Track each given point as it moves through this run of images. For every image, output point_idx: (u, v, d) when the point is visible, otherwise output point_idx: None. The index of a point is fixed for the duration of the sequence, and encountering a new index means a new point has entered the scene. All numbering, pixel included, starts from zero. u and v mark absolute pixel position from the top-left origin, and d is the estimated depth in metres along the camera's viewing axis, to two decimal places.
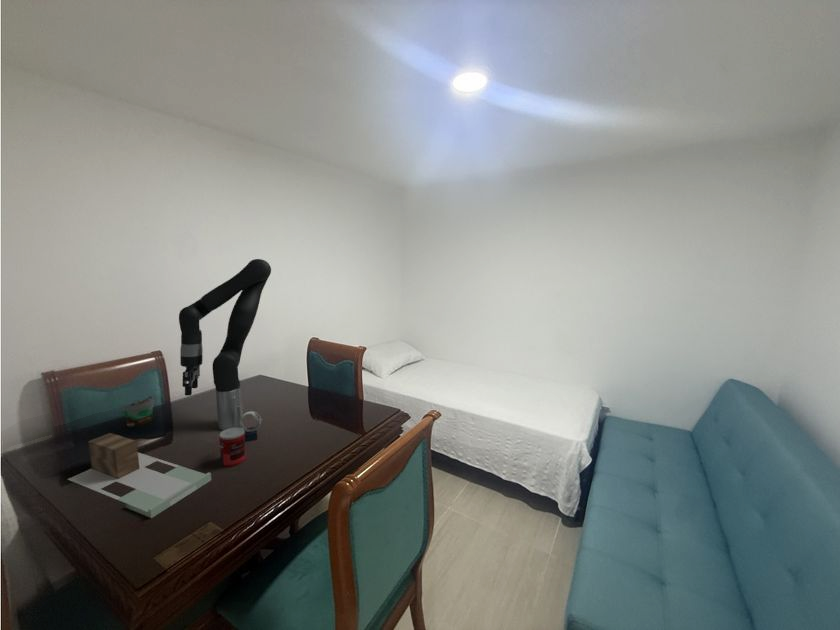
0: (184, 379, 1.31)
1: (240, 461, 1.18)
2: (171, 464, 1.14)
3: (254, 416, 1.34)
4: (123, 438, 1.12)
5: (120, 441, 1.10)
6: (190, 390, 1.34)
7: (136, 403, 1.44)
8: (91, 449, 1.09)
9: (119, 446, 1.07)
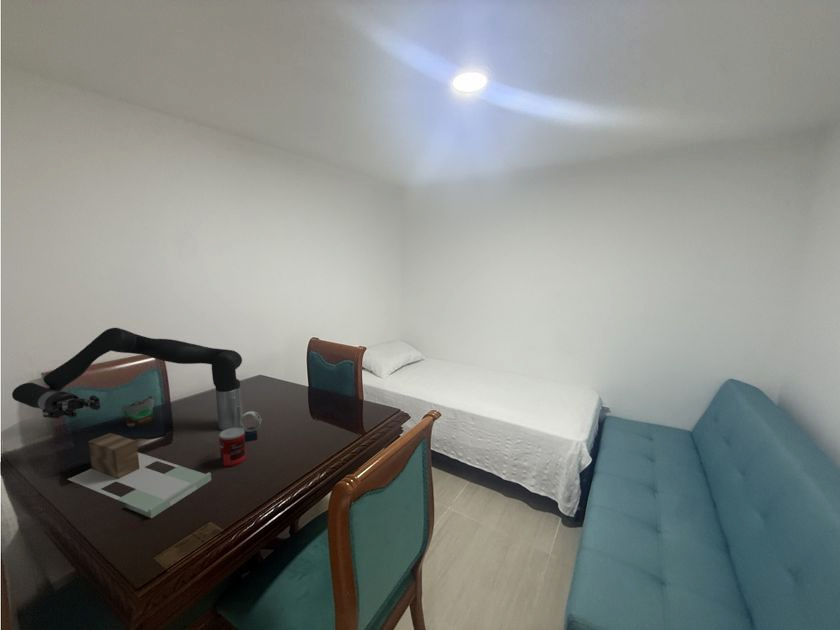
0: (49, 415, 1.09)
1: (240, 461, 1.18)
2: (171, 464, 1.14)
3: (254, 416, 1.34)
4: (123, 438, 1.12)
5: (120, 441, 1.10)
6: (69, 411, 1.10)
7: (136, 403, 1.44)
8: (91, 449, 1.09)
9: (119, 446, 1.07)
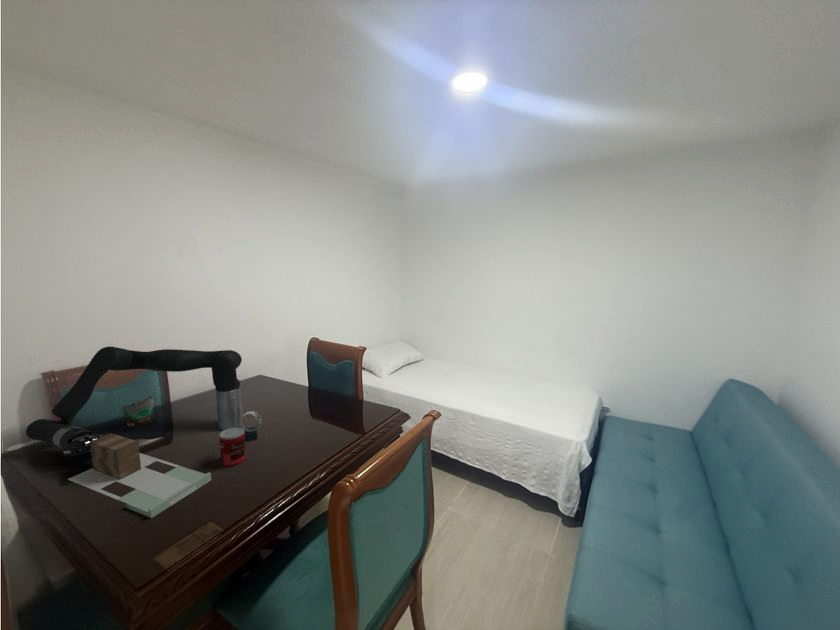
0: (73, 452, 1.11)
1: (240, 461, 1.18)
2: (171, 464, 1.14)
3: (254, 416, 1.34)
4: (125, 438, 1.11)
5: (122, 442, 1.09)
6: None
7: (136, 403, 1.44)
8: (93, 450, 1.09)
9: (121, 446, 1.07)
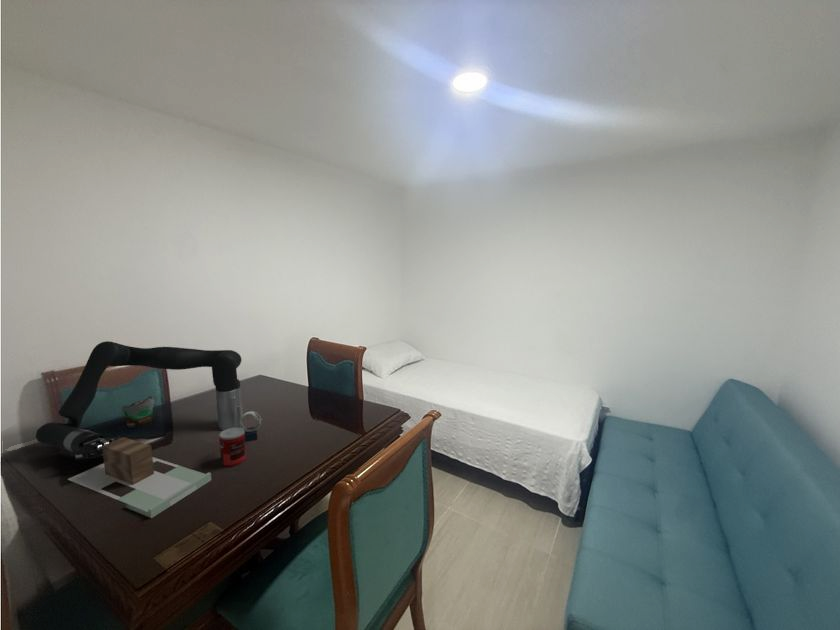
0: (85, 457, 1.08)
1: (240, 461, 1.18)
2: (171, 464, 1.14)
3: (254, 416, 1.34)
4: (137, 443, 1.09)
5: (135, 446, 1.07)
6: None
7: (136, 403, 1.44)
8: (105, 454, 1.07)
9: (134, 451, 1.04)
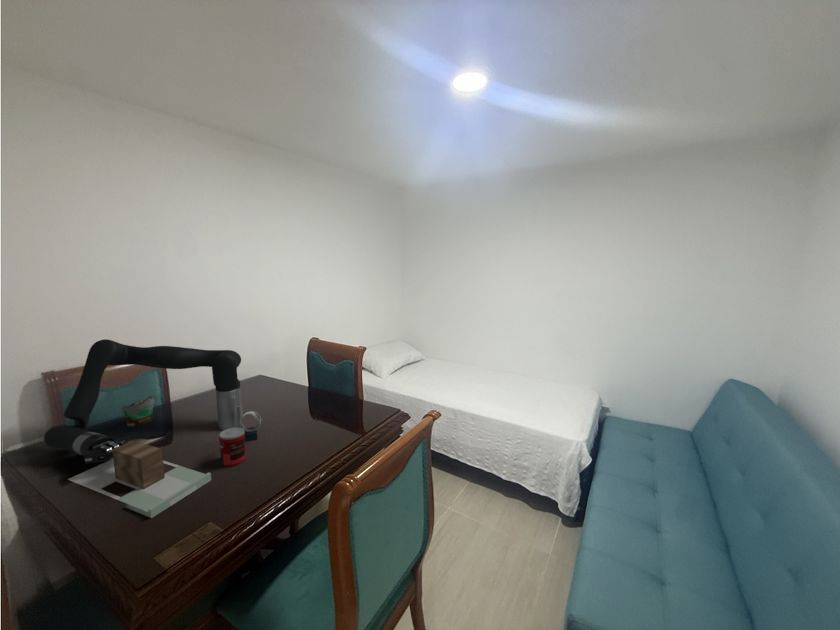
0: (95, 460, 1.07)
1: (240, 461, 1.18)
2: (171, 464, 1.14)
3: (254, 416, 1.34)
4: (148, 446, 1.07)
5: (145, 450, 1.05)
6: None
7: (136, 403, 1.44)
8: (115, 458, 1.05)
9: (145, 454, 1.03)
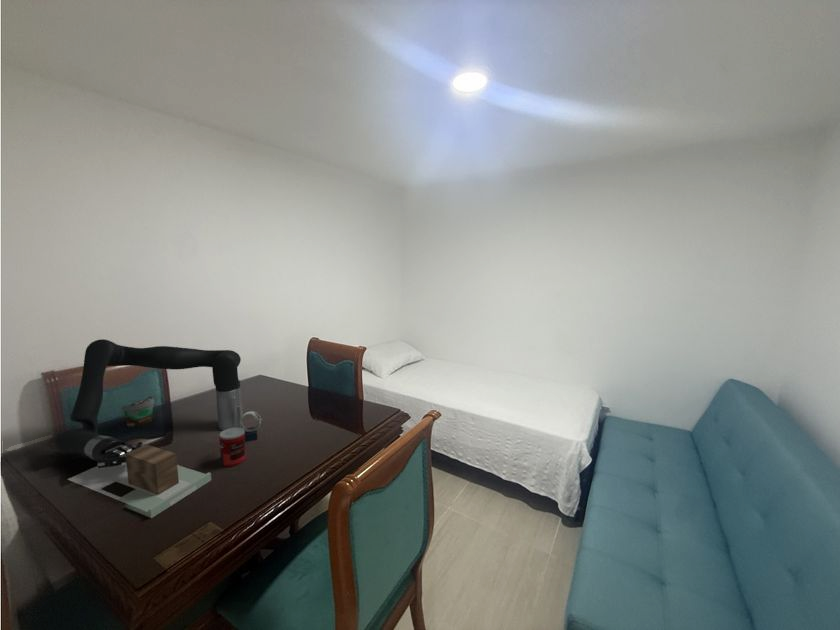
0: (108, 465, 1.04)
1: (240, 461, 1.18)
2: None
3: (254, 416, 1.34)
4: (161, 450, 1.05)
5: (159, 454, 1.03)
6: None
7: (136, 403, 1.44)
8: (128, 462, 1.03)
9: (159, 459, 1.00)
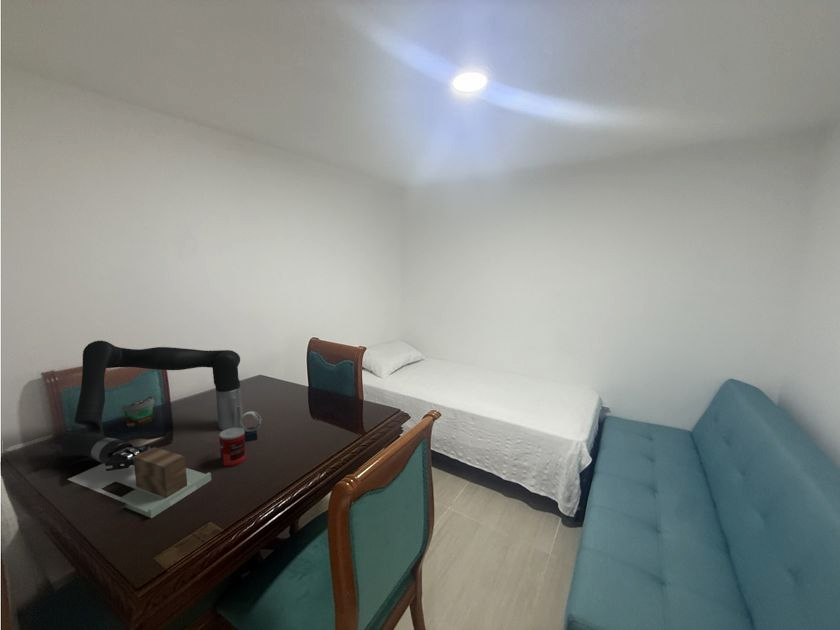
0: (116, 467, 1.03)
1: (240, 461, 1.18)
2: None
3: (254, 416, 1.34)
4: (170, 453, 1.04)
5: (168, 457, 1.01)
6: None
7: (136, 403, 1.44)
8: (136, 465, 1.01)
9: (168, 462, 0.99)
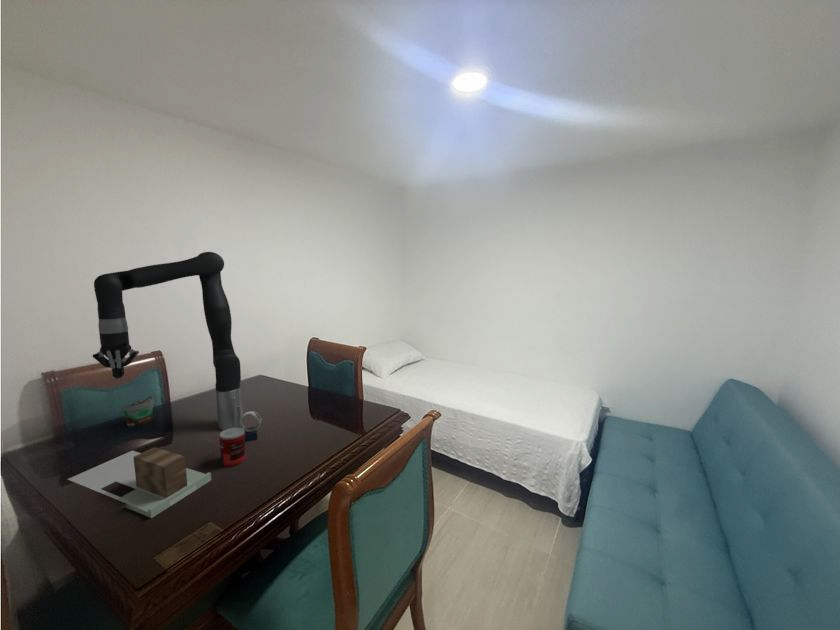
0: None
1: (240, 461, 1.18)
2: None
3: (254, 416, 1.34)
4: (170, 453, 1.04)
5: (168, 457, 1.01)
6: (114, 373, 1.18)
7: (136, 403, 1.44)
8: (136, 465, 1.01)
9: (168, 462, 0.99)
